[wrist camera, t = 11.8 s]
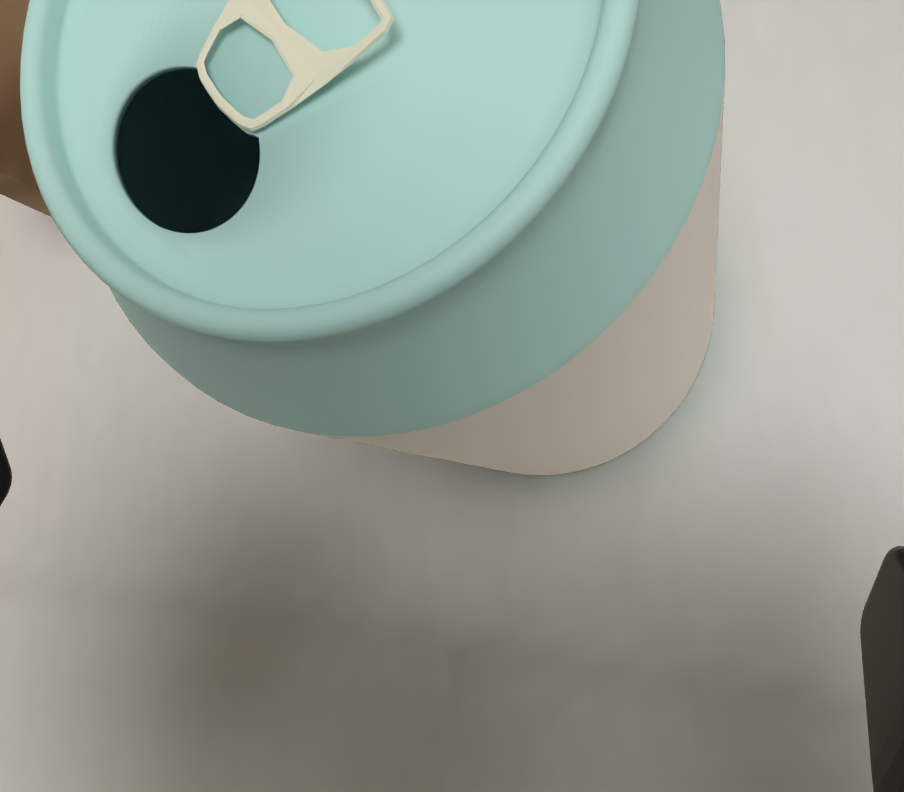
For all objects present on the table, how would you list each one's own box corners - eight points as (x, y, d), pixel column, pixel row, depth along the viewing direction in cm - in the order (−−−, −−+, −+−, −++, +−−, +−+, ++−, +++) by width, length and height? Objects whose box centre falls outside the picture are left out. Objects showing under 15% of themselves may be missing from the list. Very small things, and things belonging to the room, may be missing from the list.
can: (677, 508, 17) (624, 506, 6) (366, 440, 19) (-126, 339, 8) (742, 179, 18) (812, -434, 6) (432, 148, 20) (58, -347, 8)
